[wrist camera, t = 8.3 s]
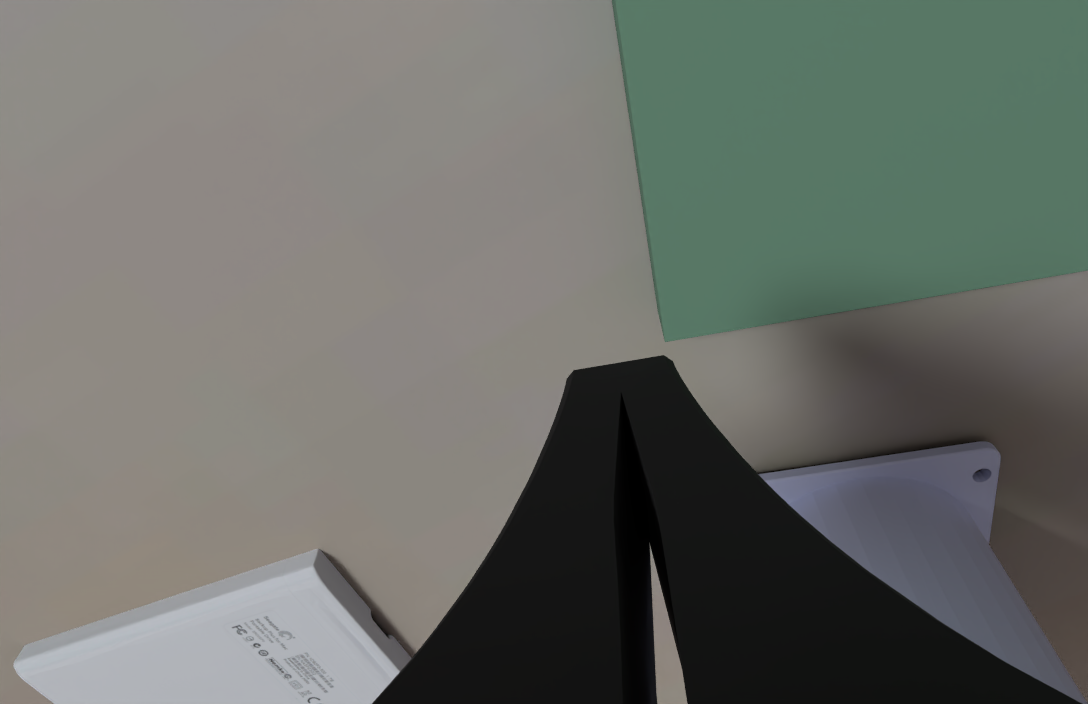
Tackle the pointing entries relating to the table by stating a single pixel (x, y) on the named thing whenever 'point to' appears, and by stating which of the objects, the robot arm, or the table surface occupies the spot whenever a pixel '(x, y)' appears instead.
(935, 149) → the putting deck
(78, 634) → the external hard drive
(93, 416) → the table surface
